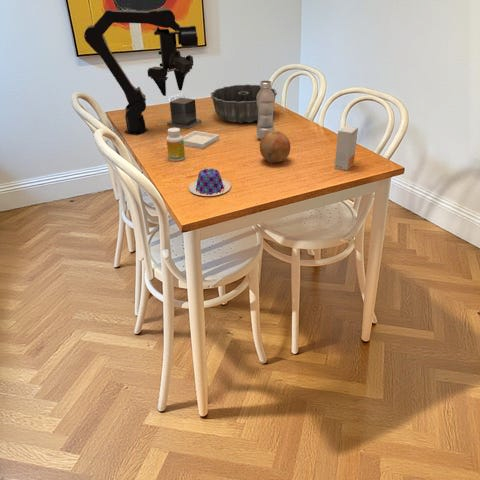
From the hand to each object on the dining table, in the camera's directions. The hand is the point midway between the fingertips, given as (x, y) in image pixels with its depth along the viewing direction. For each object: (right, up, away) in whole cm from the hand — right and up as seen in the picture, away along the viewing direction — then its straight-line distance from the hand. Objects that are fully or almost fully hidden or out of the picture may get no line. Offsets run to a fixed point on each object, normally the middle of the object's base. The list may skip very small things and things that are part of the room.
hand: (172, 93), depth 169 cm
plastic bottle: (+34, -19, -6) cm, 39 cm away
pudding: (+16, -40, -39) cm, 58 cm away
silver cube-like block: (+3, -8, +12) cm, 15 cm away
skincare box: (+57, -32, -28) cm, 71 cm away
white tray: (+10, -20, -7) cm, 23 cm away
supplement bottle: (+4, -28, -19) cm, 34 cm away
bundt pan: (+27, -4, +18) cm, 32 cm away
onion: (+36, -30, -23) cm, 52 cm away
